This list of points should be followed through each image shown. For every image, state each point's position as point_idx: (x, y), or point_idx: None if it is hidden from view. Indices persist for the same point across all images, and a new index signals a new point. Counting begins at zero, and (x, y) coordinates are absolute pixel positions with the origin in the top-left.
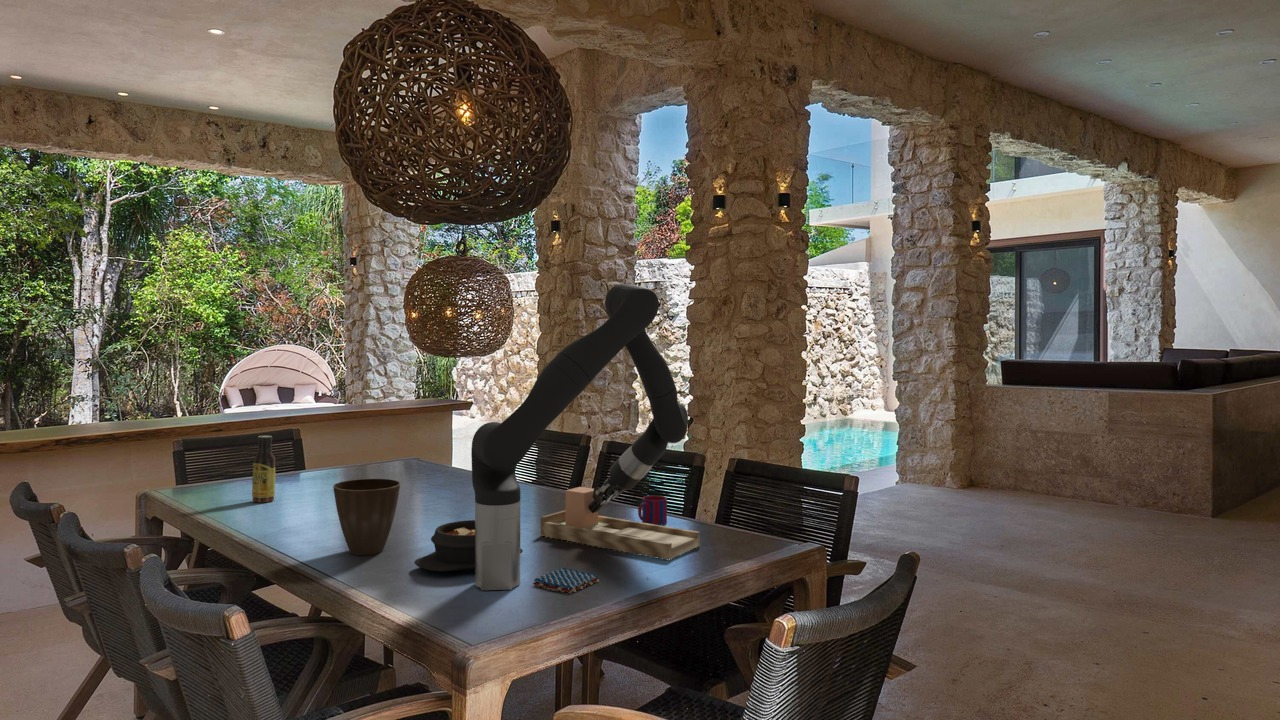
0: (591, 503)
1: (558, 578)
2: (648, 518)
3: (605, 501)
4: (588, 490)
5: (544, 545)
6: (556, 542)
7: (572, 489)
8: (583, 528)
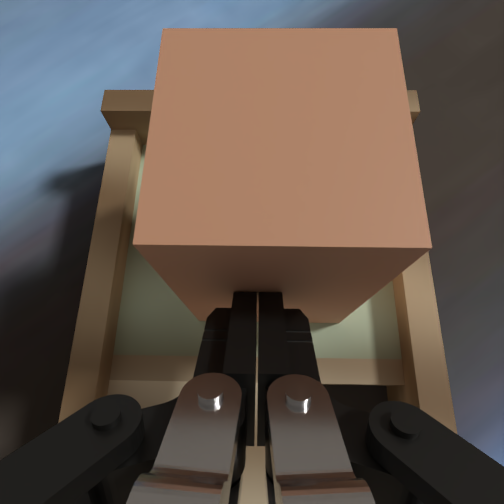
0: (231, 316)
1: None
2: None
3: (266, 487)
4: (296, 194)
5: (10, 254)
6: (80, 265)
7: (236, 49)
8: (84, 389)
